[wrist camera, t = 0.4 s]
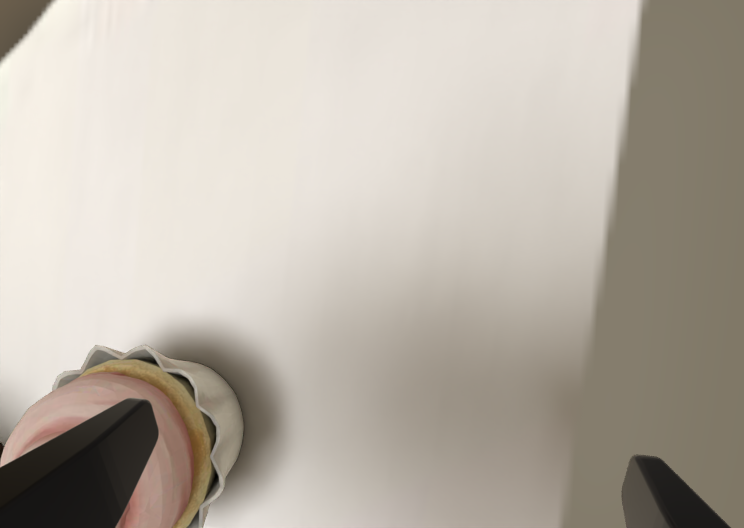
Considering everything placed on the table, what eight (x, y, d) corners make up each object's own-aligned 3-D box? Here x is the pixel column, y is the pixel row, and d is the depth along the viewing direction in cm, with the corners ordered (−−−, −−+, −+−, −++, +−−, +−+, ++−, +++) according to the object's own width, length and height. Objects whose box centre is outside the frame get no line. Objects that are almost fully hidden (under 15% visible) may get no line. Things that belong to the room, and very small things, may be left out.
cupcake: (79, 423, 27) (-148, 503, 17) (184, 294, 26) (2, 304, 16) (194, 556, 25) (12, 728, 16) (311, 425, 24) (194, 524, 15)
